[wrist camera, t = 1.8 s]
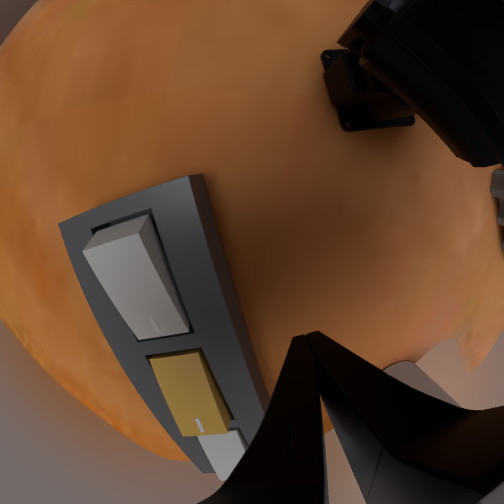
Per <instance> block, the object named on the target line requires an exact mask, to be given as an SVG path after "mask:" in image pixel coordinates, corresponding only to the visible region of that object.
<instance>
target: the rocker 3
mask: <svg viewBox="0 0 504 504" xmlns="http://www.w3.org/2000/svg"><path fill="white" fill-rule="evenodd" d="M197 437H198V439H199V441H200V443H201V445H202V447H203V449H204V451H205V453H206V455H207V457H208V459H209V461H210V463H211V465H212V467H213V468H214V470H215V472H216V474H217V476H218V477H219V479H220V480H227V478H228V477H229V475H230V474H231V472H232V471H233V469H234V468H235V466H236V465H237V463H238V462H239V460H240V459H241V457H242V456H243V454H244V453H245V451H246V450H247V448H248V446H249V445H248V443H247V441H246V439H245V437H244V435H243V433H242V432H241V430H240V428H239V427H235V428H229V430H228V433H226V434H216V435H203V436H197Z"/></svg>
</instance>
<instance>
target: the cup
mask: <svg viewBox="0 0 504 504" xmlns="http://www.w3.org/2000/svg"><path fill="white" fill-rule="evenodd" d="M383 371H384V372H386V373H387V374H388V375H391V376H393V377H394V378H396V379H398V380H399V381H401V382H403V383H405V384H407V385H409V386H410V387H412V388H415V389H417V390H419V391H421V392H423V393H426V394H428V395H431V396H433V397H435V398H438V399H440V400H443V401H445V402H448V403H451V404H453V405H456V406H458V407H461V406H460V405H459V404H458V403H457V402H456V401H455V400H454V399H453V398H451V397H450V396H449V395H448V394H447V393H446V392H445V391H444V390H443V389H442V388H441V387H440V386H439V385H437V383H435V382H434V381H433V380H432V379H431V378H430V377H429V376H428V375H427V374H425V373H424V372H423V371H422V370H421V369H420V368H419V367H418V366H417V365H416V364H415V363H413V362H410V361H403V362H399V363H396V364H393V365H391V366H389V367H388V368H386V369H385V370H383ZM461 408H462V407H461Z"/></svg>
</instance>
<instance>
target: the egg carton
mask: <svg viewBox="0 0 504 504" xmlns="http://www.w3.org/2000/svg"><path fill="white" fill-rule="evenodd" d="M490 191H491V194H492V196H493V197H497V198H498V199H499V203H500V208H499V212H498V214H497V216H496V218H497V223H498V224H499V225H502V226H504V170H499V169H496V170H495V171H493V183H492V186H491V187H490ZM501 249H502V250H504V237H503V239H502V241H501Z"/></svg>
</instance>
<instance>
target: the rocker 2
mask: <svg viewBox="0 0 504 504" xmlns="http://www.w3.org/2000/svg"><path fill="white" fill-rule="evenodd" d="M149 360H150V363H151V366H152V368H153V371H154V373H155V376H156V378H157V381H158V383H159V386H160V388H161V390H162V393H163V395H164V397H165V400H166V402H167V404H168V406H169V409H170V411H171V413H172V415H173V417H174V419H175V422H176V424H177V426H178V428H179V430H180V432H181V434H182V436H203V435H216V434H226V433H228V430H229V424H230V418H231V416H230V414H229V411H228V408H227V405H226V403H225V400H224V397H223V394H222V392H221V390H220V388H219V385H218V383H217V381H216V379H215V377H214V375H213V373H212V370H211V368H210V366H209V364H208V361H207V359H206V357H205V355H204V352H203V350H202V348H201V347H199V348H193V349H187V350H180V351H173V352H166V353H159V354H154V355H153V356H152V357H151V358H150V359H149Z"/></svg>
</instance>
